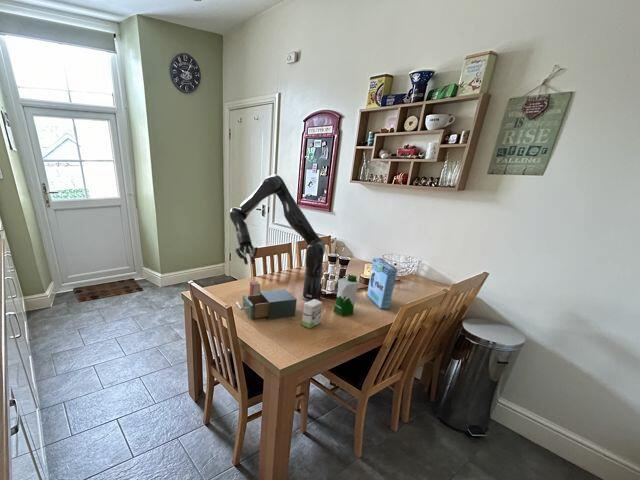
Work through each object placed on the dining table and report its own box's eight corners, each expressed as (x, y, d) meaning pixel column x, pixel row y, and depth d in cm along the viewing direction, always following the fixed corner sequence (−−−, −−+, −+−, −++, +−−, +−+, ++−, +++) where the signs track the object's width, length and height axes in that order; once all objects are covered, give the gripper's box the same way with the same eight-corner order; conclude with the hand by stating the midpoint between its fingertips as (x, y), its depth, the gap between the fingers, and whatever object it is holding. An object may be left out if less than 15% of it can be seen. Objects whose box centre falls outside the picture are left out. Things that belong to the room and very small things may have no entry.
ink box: (309, 328, 157) (312, 306, 152) (301, 325, 160) (303, 303, 155) (320, 323, 162) (323, 301, 157) (311, 319, 165) (314, 298, 160)
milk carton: (355, 314, 171) (362, 278, 163) (341, 317, 168) (347, 281, 160) (344, 307, 179) (350, 273, 170) (331, 310, 175) (336, 275, 167)
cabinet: (268, 319, 164) (269, 302, 160) (258, 307, 177) (259, 291, 173) (295, 316, 168) (296, 299, 164) (283, 304, 181) (285, 288, 177)
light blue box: (388, 309, 178) (398, 269, 169) (379, 309, 178) (388, 269, 168) (374, 294, 196) (382, 258, 186) (366, 294, 196) (373, 257, 186)
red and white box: (256, 297, 189) (256, 281, 185) (259, 300, 185) (260, 284, 180) (249, 297, 188) (250, 281, 184) (252, 301, 184) (253, 285, 179)
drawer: (241, 320, 161) (242, 306, 157) (234, 309, 172) (234, 296, 169) (275, 316, 166) (276, 302, 162) (266, 305, 177) (267, 292, 174)
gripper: (233, 235, 188) (239, 261, 182) (256, 233, 191) (263, 260, 186) (231, 241, 194) (236, 267, 189) (253, 240, 198) (259, 266, 193)
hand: (249, 263), depth 188 cm, fingers open, 3 cm apart
